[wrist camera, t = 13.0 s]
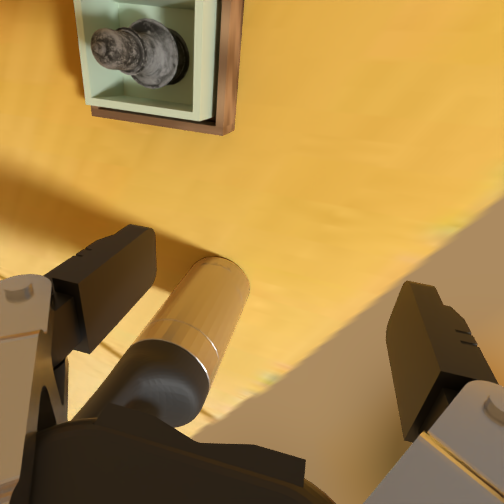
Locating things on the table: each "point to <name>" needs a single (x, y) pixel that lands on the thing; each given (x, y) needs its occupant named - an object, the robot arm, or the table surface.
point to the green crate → (124, 86)
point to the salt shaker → (143, 52)
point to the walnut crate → (226, 83)
